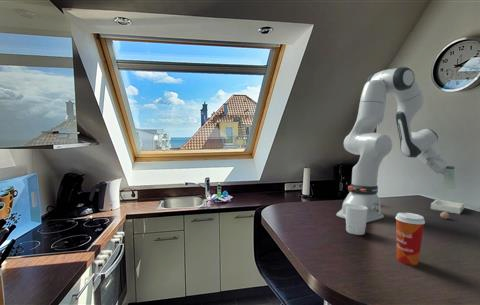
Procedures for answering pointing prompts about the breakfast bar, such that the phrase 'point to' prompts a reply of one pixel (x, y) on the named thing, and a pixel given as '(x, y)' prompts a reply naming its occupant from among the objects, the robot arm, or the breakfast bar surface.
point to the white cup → (356, 219)
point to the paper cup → (409, 237)
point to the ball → (444, 215)
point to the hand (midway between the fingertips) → (451, 177)
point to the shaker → (450, 182)
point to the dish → (447, 206)
